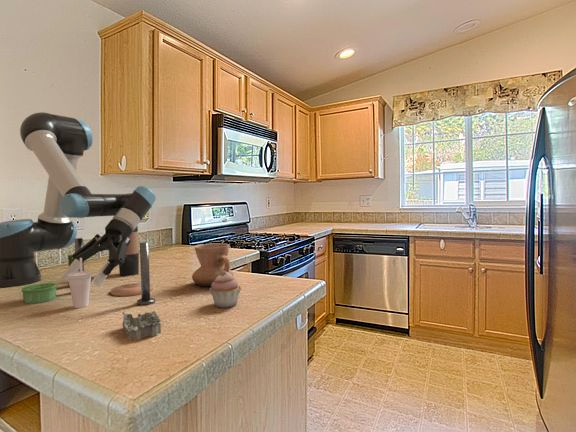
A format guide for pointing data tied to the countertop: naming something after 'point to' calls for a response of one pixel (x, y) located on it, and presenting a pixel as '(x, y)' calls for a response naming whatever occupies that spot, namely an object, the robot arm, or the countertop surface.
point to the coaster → (128, 289)
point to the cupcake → (225, 290)
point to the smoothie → (80, 287)
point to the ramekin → (39, 293)
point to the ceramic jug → (211, 263)
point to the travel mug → (131, 256)
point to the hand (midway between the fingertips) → (79, 281)
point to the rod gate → (144, 271)
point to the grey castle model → (141, 325)
